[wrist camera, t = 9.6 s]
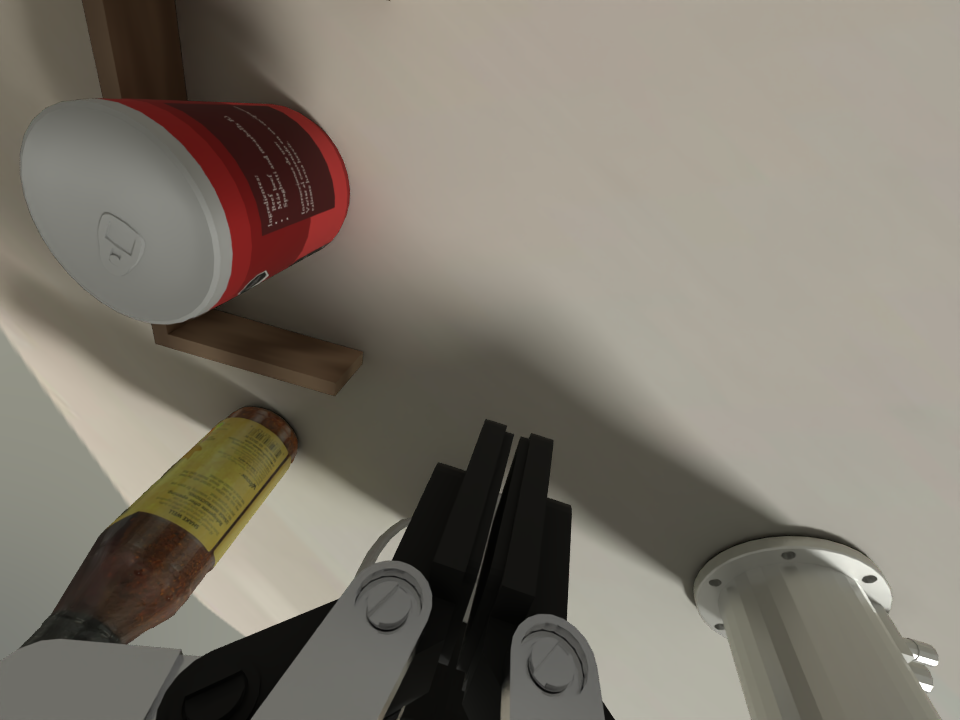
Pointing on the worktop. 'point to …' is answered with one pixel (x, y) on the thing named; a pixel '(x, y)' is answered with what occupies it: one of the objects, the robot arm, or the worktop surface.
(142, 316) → the canned food
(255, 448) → the sauce bottle
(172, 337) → the wooden corner frame
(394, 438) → the worktop surface
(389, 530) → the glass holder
